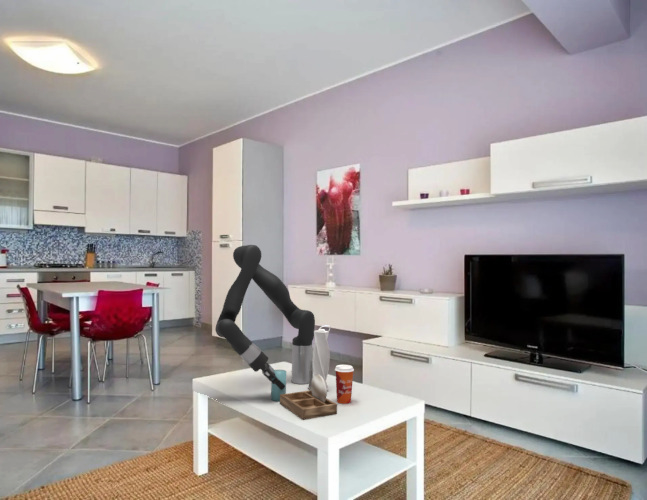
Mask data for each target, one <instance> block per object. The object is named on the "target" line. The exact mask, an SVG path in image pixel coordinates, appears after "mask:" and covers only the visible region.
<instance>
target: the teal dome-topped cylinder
mask: <svg viewBox="0 0 647 500" xmlns="http://www.w3.org/2000/svg"><path fill="white" fill-rule="evenodd" d="M273 371H274V372H275V374H276V376H277V378H279V380H280V381H281V382H282V383H283V384H284V385H285V388H284V389H283V390H281V389H280V388H279V387H278V386H277V385H276V384H273V383H272V382H271V381H270V382H271V385H270V400H271V401H274V402H280V395H281V394H287V370H285V369H274V370H273ZM274 379H275V378H273V380H274Z"/></svg>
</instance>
